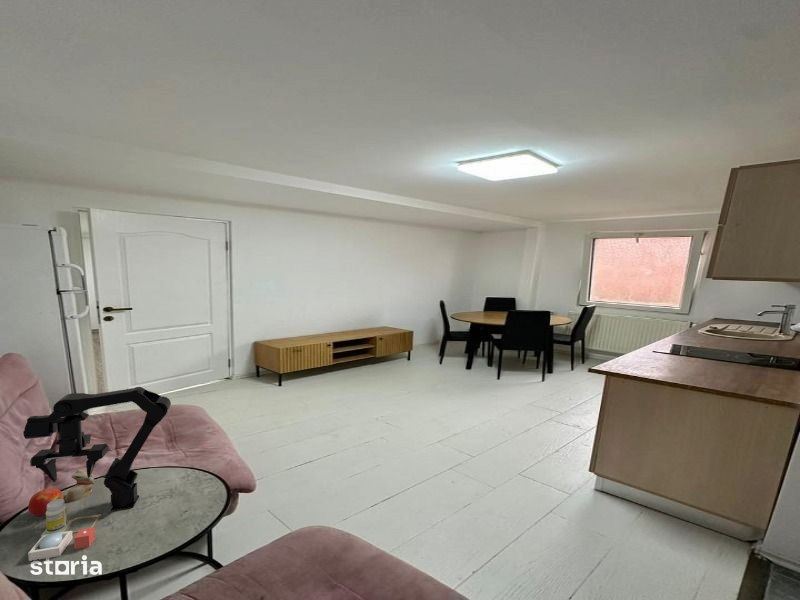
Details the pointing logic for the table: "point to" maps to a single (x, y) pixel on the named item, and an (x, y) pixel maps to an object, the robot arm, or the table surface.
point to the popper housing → (50, 552)
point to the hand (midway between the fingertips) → (72, 478)
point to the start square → (83, 518)
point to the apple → (43, 501)
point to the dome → (51, 540)
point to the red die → (84, 538)
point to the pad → (57, 531)
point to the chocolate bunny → (80, 486)
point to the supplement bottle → (56, 515)
